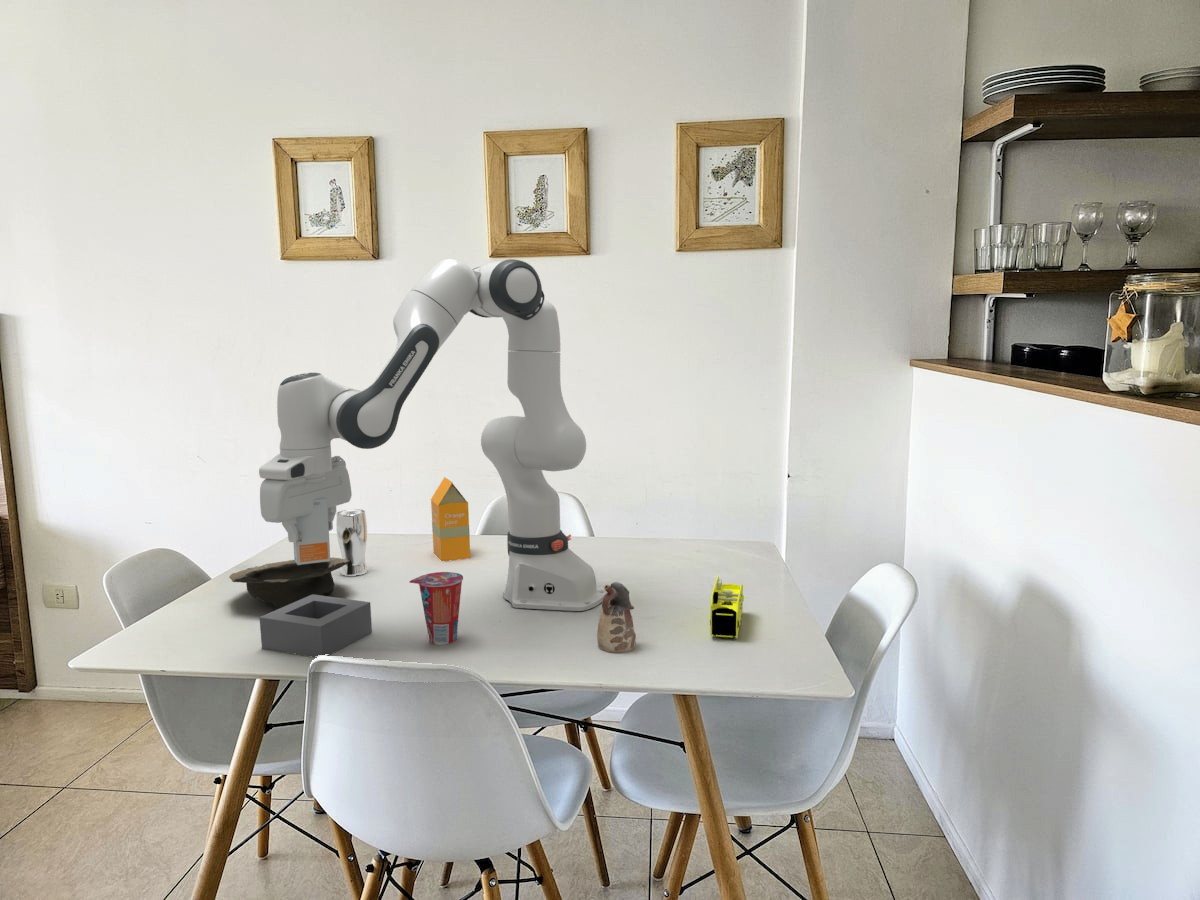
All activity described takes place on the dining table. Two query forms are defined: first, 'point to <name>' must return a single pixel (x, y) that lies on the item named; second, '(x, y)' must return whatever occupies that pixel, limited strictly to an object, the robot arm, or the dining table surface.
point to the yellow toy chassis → (726, 609)
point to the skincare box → (313, 535)
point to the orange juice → (450, 523)
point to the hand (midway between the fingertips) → (311, 535)
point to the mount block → (315, 625)
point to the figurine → (616, 621)
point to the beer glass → (352, 540)
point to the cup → (441, 605)
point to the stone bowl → (289, 580)
